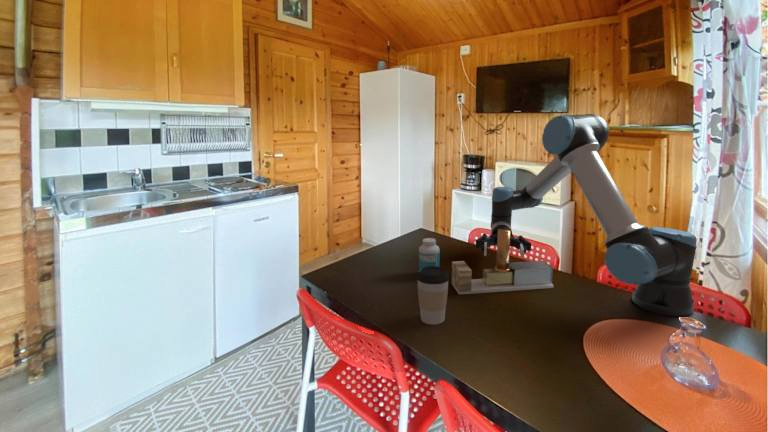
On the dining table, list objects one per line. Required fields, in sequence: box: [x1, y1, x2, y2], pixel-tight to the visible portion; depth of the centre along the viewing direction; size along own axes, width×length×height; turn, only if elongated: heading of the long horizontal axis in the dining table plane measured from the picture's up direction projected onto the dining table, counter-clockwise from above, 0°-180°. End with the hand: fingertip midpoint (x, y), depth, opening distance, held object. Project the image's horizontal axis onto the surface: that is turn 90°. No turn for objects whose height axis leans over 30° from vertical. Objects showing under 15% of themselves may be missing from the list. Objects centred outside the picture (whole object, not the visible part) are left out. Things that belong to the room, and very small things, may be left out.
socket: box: [451, 260, 473, 292], centre depth 136 cm, size 9×4×7 cm, turn 6°
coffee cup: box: [416, 266, 450, 325], centre depth 116 cm, size 9×9×15 cm
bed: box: [451, 278, 555, 295], centre depth 138 cm, size 9×32×1 cm, turn 96°
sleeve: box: [509, 260, 554, 286], centre depth 139 cm, size 7×13×7 cm, turn 96°
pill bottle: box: [418, 237, 441, 273], centre depth 147 cm, size 8×7×14 cm
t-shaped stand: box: [482, 228, 514, 285], centre depth 136 cm, size 5×20×18 cm, turn 96°
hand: (503, 253), depth 132 cm, fingers open, 11 cm apart
